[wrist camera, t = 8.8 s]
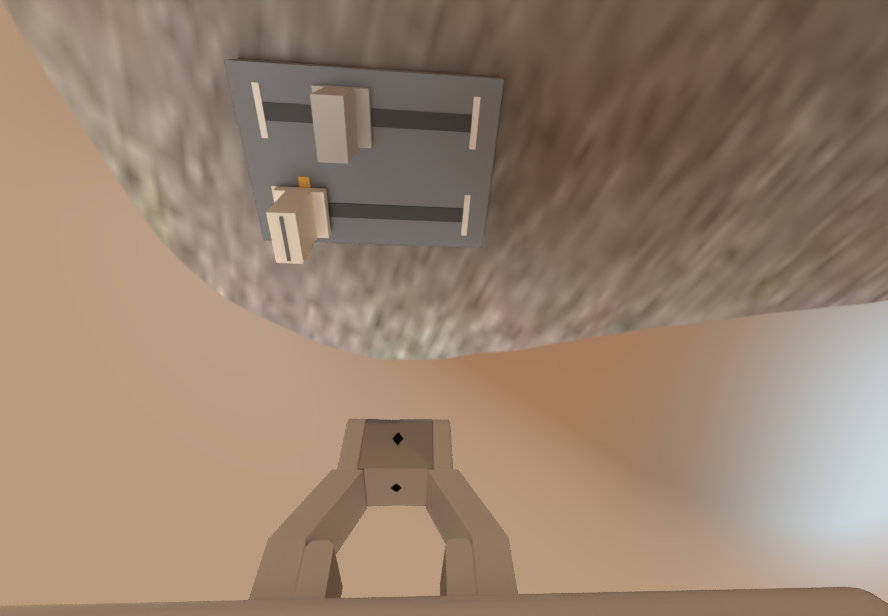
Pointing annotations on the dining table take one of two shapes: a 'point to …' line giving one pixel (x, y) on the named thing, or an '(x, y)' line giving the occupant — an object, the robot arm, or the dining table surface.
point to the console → (372, 147)
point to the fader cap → (297, 222)
